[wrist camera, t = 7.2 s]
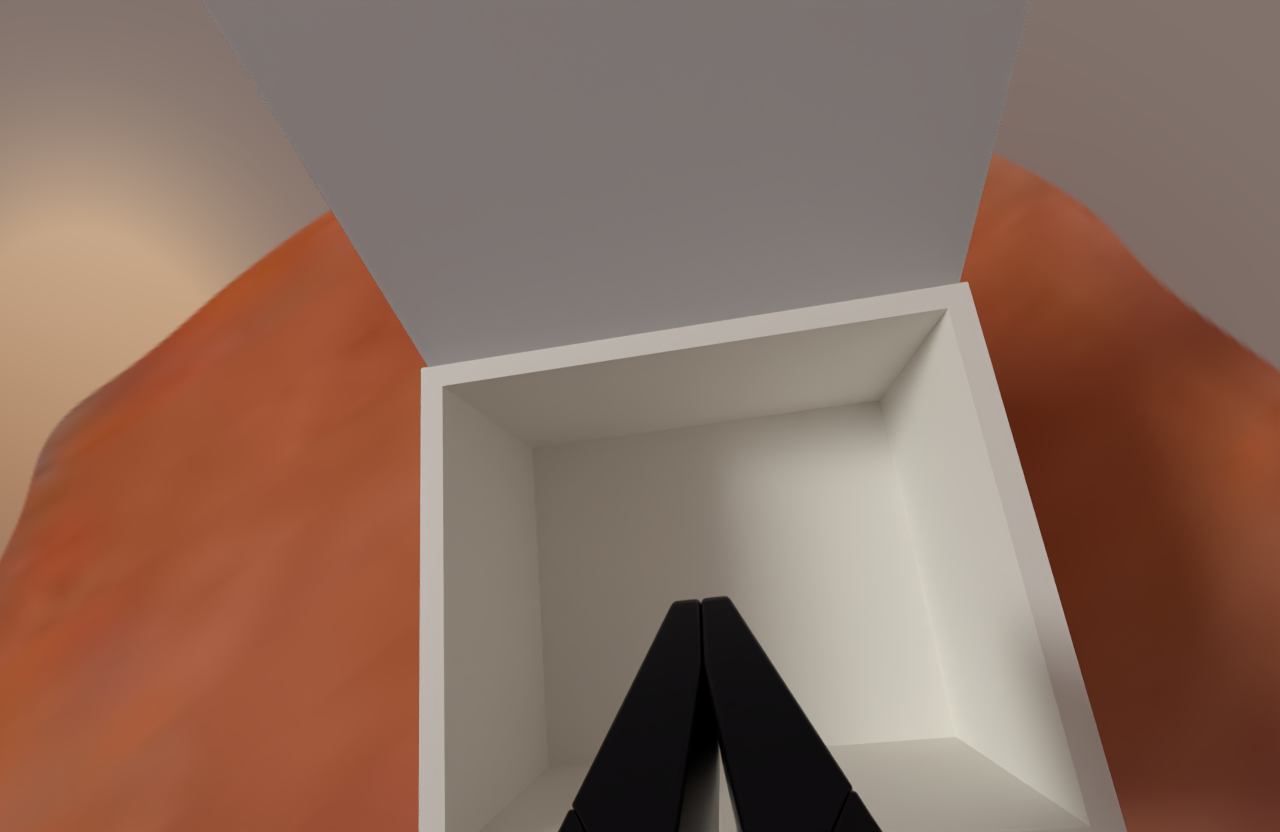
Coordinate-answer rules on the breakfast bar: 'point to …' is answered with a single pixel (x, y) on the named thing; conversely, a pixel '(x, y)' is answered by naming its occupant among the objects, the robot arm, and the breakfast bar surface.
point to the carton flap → (634, 152)
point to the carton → (750, 563)
